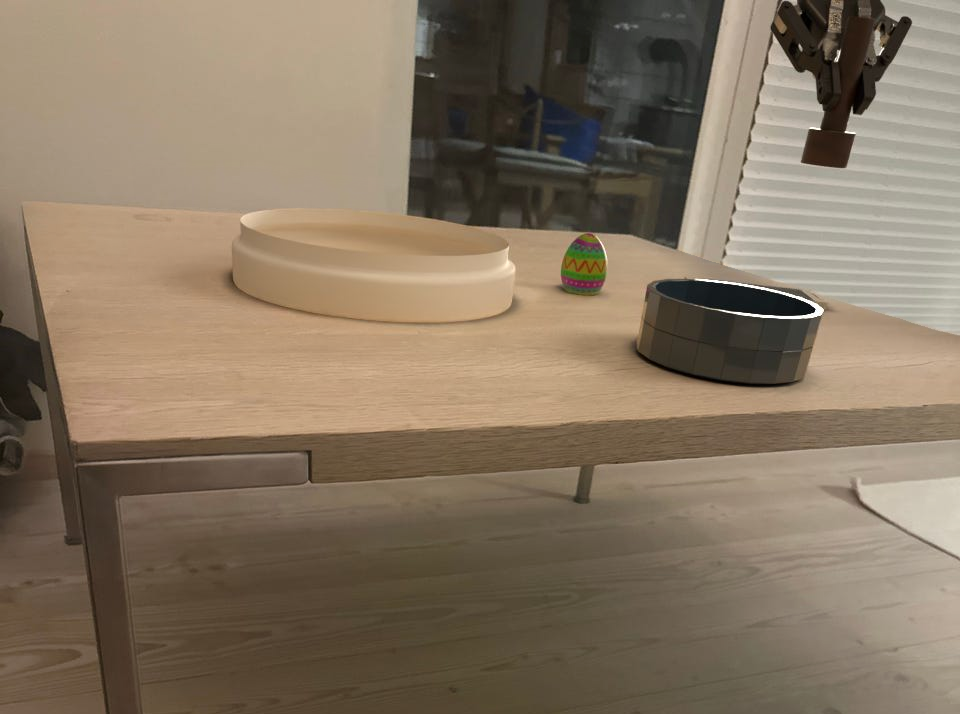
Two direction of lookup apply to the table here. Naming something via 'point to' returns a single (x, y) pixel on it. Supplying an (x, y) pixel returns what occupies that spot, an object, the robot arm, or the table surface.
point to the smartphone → (795, 292)
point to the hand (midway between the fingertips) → (847, 105)
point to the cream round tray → (372, 265)
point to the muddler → (841, 101)
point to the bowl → (728, 331)
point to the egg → (584, 266)
